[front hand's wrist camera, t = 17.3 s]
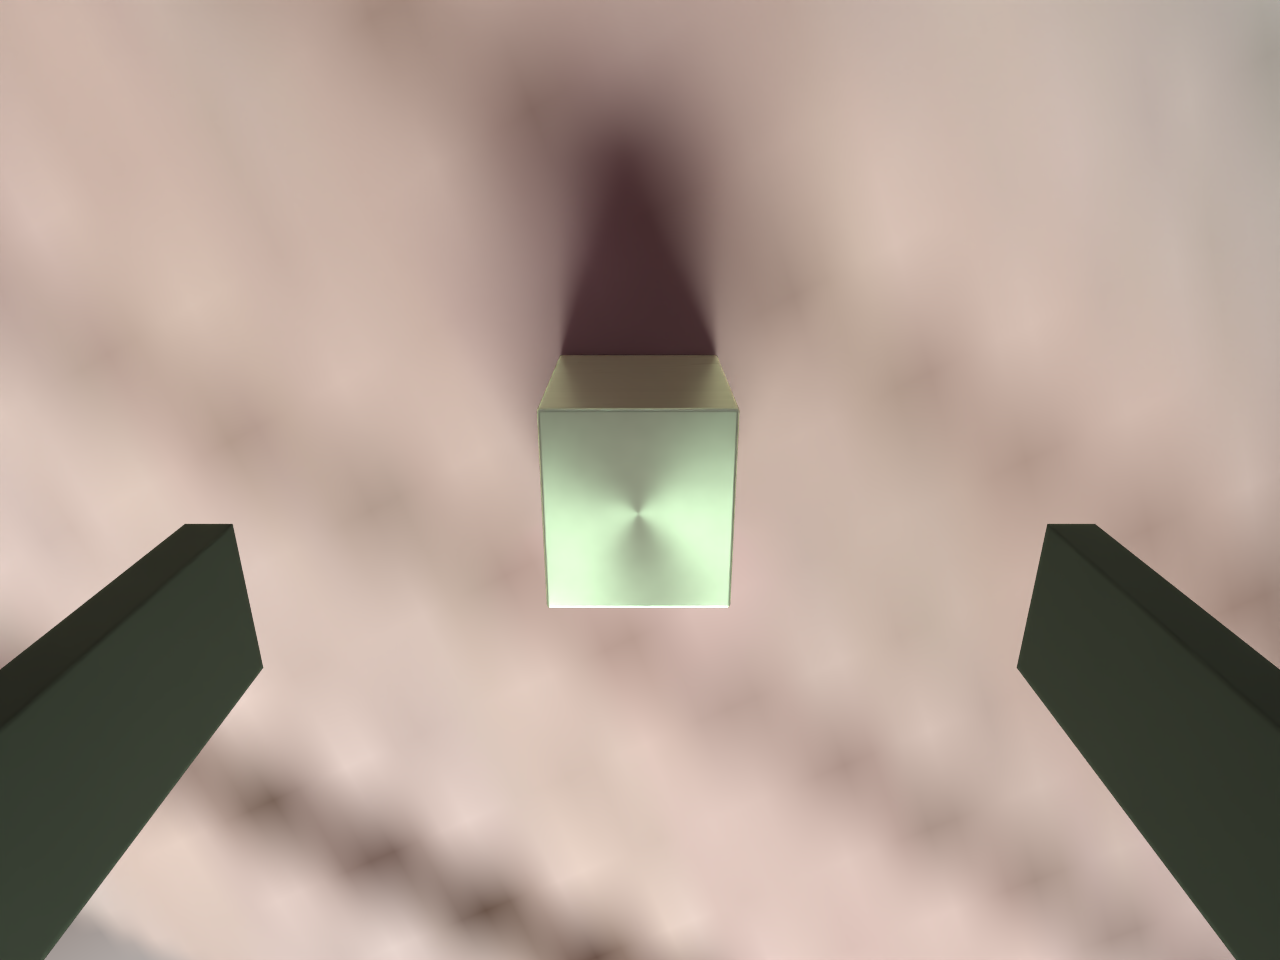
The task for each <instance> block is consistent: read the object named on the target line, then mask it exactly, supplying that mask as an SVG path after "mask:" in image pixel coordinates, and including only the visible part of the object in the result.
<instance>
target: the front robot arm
mask: <svg viewBox="0 0 1280 960" xmlns="http://www.w3.org/2000/svg"><path fill="white" fill-rule="evenodd" d="M262 669H263V665H262V660H261V655H260V650H259V646H258V641H257V636H256V632H255V627H254V622H253V618H252V613H251V608H250V604H249V599H248V594H247V589H246V585H245V580H244V575H243V571H242V566H241V561H240V557H239V552H238V547H237V542H236V538H235V533H234V528H233V524H184V525H183V526H182V527H181V528H179V529H178V530H177V531H176V532H174V533H173V534H172V535H170V536H169V537H168V538H167V539H165V540H164V541H163V542H162V543H160V544H159V545H158V546H157V547H155V548H154V549H153V550H151V551H150V552H149V553H148V554H146V555H145V556H144V557H143V558H141V559H140V560H139V561H138V562H136V563H135V564H134V565H132V566H131V567H130V568H129V569H127V570H126V571H125V572H124V573H122V574H121V575H120V576H118V577H117V578H116V579H115V580H113V581H112V582H111V583H110V584H108V585H107V586H106V587H105V588H103V589H102V590H101V591H99V592H98V593H97V594H96V595H94V596H93V597H92V598H91V599H89V600H88V601H87V602H85V603H84V604H83V605H82V606H80V607H79V608H78V609H77V610H75V611H74V612H73V613H72V614H70V615H69V616H68V617H66V618H65V619H64V620H63V621H61V622H60V623H59V624H58V625H56V626H55V627H54V628H52V629H51V630H50V631H49V632H47V633H46V634H45V635H44V636H42V637H41V638H40V639H39V640H37V641H36V642H35V643H33V644H32V645H31V646H30V647H28V648H27V649H26V650H25V651H23V652H22V653H21V654H20V655H18V656H17V657H16V658H14V659H13V660H12V661H11V662H9V663H8V664H7V665H6V666H4V667H3V668H2V669H0V960H44V959H45V958H46V956H47V955H48V954H49V952H50V951H51V950H52V948H53V947H54V946H55V944H56V943H57V942H58V940H59V939H60V938H61V936H62V935H63V934H64V932H65V931H66V930H67V928H68V927H69V926H70V924H71V923H72V922H73V920H74V919H75V918H76V916H77V915H78V914H79V912H80V911H81V910H82V908H83V907H84V906H85V904H86V903H87V902H88V900H89V899H90V898H91V896H92V895H93V894H94V892H95V891H96V890H97V888H98V887H99V886H100V884H101V883H102V882H103V880H104V879H105V878H106V876H107V875H108V874H109V872H110V871H111V870H112V868H113V867H114V866H115V864H116V863H117V862H118V860H119V859H120V858H121V856H122V855H123V854H124V852H125V851H126V850H127V848H128V847H129V846H130V844H131V843H132V842H133V841H134V839H135V838H136V837H137V835H138V834H139V833H140V831H141V830H142V829H143V827H144V826H145V825H146V823H147V822H148V821H149V819H150V818H151V817H152V815H153V814H154V813H155V811H156V810H157V809H158V807H159V806H160V805H161V803H162V802H163V801H164V799H165V798H166V797H167V795H168V794H169V793H170V791H171V790H172V789H173V787H174V786H175V785H176V783H177V782H178V781H179V779H180V778H181V777H182V775H183V774H184V773H185V771H186V770H187V769H188V767H189V766H190V765H191V763H192V762H193V761H194V759H195V758H196V757H197V755H198V754H199V753H200V751H201V750H202V749H203V747H204V746H205V745H206V743H207V742H208V741H209V739H210V738H211V737H212V735H213V734H214V733H215V731H216V730H217V729H218V727H219V726H220V725H221V723H222V722H223V721H224V719H225V718H226V717H227V715H228V714H229V713H230V711H231V710H232V709H233V707H234V706H235V705H236V703H237V702H238V701H239V699H240V698H241V697H242V695H243V694H244V693H245V691H246V690H247V689H248V687H249V686H250V685H251V683H252V682H253V681H254V679H255V678H256V677H257V675H258V674H259V673H260V671H261V670H262ZM1017 669H1018V670H1019V671H1020V673H1021V674H1022V675H1023V677H1024V678H1025V679H1026V681H1027V682H1028V683H1029V685H1030V686H1031V687H1032V689H1033V690H1034V691H1035V693H1036V694H1037V695H1038V697H1039V698H1040V699H1041V701H1042V702H1043V703H1044V705H1045V706H1046V707H1047V709H1048V710H1049V711H1050V713H1051V714H1052V715H1053V717H1054V718H1055V719H1056V721H1057V722H1058V723H1059V725H1060V726H1061V727H1062V729H1063V730H1064V731H1065V733H1066V734H1067V735H1068V737H1069V738H1070V739H1071V741H1072V742H1073V743H1074V745H1075V746H1076V747H1077V749H1078V750H1079V751H1080V753H1081V754H1082V755H1083V757H1084V758H1085V759H1086V761H1087V762H1088V763H1089V765H1090V766H1091V767H1092V769H1093V770H1094V771H1095V773H1096V774H1097V775H1098V777H1099V778H1100V779H1101V781H1102V782H1103V783H1104V785H1105V786H1106V787H1107V789H1108V790H1109V791H1110V793H1111V794H1112V795H1113V797H1114V798H1115V799H1116V801H1117V802H1118V803H1119V805H1120V806H1121V807H1122V809H1123V810H1124V811H1125V813H1126V814H1127V815H1128V817H1129V818H1130V819H1131V821H1132V822H1133V823H1134V825H1135V826H1136V827H1137V829H1138V830H1139V831H1140V833H1141V834H1142V835H1143V837H1144V838H1145V839H1146V841H1147V842H1148V843H1149V844H1150V846H1151V847H1152V848H1153V850H1154V851H1155V852H1156V854H1157V855H1158V856H1159V858H1160V859H1161V860H1162V862H1163V863H1164V864H1165V866H1166V867H1167V868H1168V870H1169V871H1170V872H1171V874H1172V875H1173V876H1174V878H1175V879H1176V880H1177V882H1178V883H1179V884H1180V886H1181V887H1182V888H1183V890H1184V891H1185V892H1186V894H1187V895H1188V896H1189V898H1190V899H1191V900H1192V902H1193V903H1194V904H1195V906H1196V907H1197V908H1198V910H1199V911H1200V912H1201V914H1202V915H1203V916H1204V918H1205V919H1206V920H1207V922H1208V923H1209V924H1210V926H1211V927H1212V928H1213V930H1214V931H1215V932H1216V934H1217V935H1218V936H1219V938H1220V939H1221V940H1222V942H1223V943H1224V944H1225V946H1226V947H1227V948H1228V950H1229V951H1230V952H1231V954H1232V955H1233V956H1234V958H1235V959H1236V960H1280V669H1278V668H1277V667H1276V666H1274V665H1273V664H1272V663H1271V662H1269V661H1268V660H1267V659H1266V658H1264V657H1263V656H1262V655H1260V654H1259V653H1258V652H1257V651H1255V650H1254V649H1253V648H1252V647H1250V646H1249V645H1248V644H1247V643H1245V642H1244V641H1243V640H1241V639H1240V638H1239V637H1238V636H1236V635H1235V634H1234V633H1233V632H1231V631H1230V630H1229V629H1228V628H1226V627H1225V626H1224V625H1222V624H1221V623H1220V622H1219V621H1217V620H1216V619H1215V618H1214V617H1212V616H1211V615H1210V614H1208V613H1207V612H1206V611H1205V610H1203V609H1202V608H1201V607H1200V606H1198V605H1197V604H1196V603H1195V602H1193V601H1192V600H1191V599H1189V598H1188V597H1187V596H1186V595H1184V594H1183V593H1182V592H1181V591H1179V590H1178V589H1177V588H1175V587H1174V586H1173V585H1172V584H1170V583H1169V582H1168V581H1167V580H1165V579H1164V578H1163V577H1162V576H1160V575H1159V574H1158V573H1156V572H1155V571H1154V570H1153V569H1151V568H1150V567H1149V566H1148V565H1146V564H1145V563H1144V562H1142V561H1141V560H1140V559H1139V558H1137V557H1136V556H1135V555H1134V554H1132V553H1131V552H1130V551H1129V550H1127V549H1126V548H1125V547H1123V546H1122V545H1121V544H1120V543H1118V542H1117V541H1116V540H1115V539H1113V538H1112V537H1111V536H1110V535H1108V534H1107V533H1106V532H1104V531H1103V530H1102V529H1101V528H1099V527H1098V526H1097V525H1096V524H1047V528H1046V533H1045V538H1044V542H1043V547H1042V552H1041V557H1040V561H1039V566H1038V571H1037V575H1036V580H1035V585H1034V589H1033V594H1032V599H1031V604H1030V608H1029V613H1028V618H1027V622H1026V627H1025V632H1024V636H1023V641H1022V646H1021V650H1020V655H1019V660H1018V665H1017Z"/></svg>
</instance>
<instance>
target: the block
mask: <svg viewBox="0 0 1280 960" xmlns="http://www.w3.org/2000/svg"><path fill="white" fill-rule="evenodd" d="M739 412H740V411H739V408H738V406H737V403H736V401H735V399H734V396H733V394H732V391H731V389H730V386H729V384H728V381H727V379H726V376H725V374H724V371H723V369H722V367H721V364H720V362H719V359H718V357H717V356H716V355H561V356H560V357H559V359H558V362H557V364H556V367H555V369H554V371H553V374H552V376H551V378H550V381H549V383H548V386H547V388H546V390H545V393H544V395H543V397H542V400H541V402H540V405H539V407H538V409H537V424H538V444H539V463H540V482H541V502H542V521H543V541H544V560H545V579H546V599H547V606H548V607H550V608H727V607H729V606H730V598H731V577H732V557H733V536H734V515H735V495H736V474H737V453H738V433H739Z"/></svg>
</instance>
